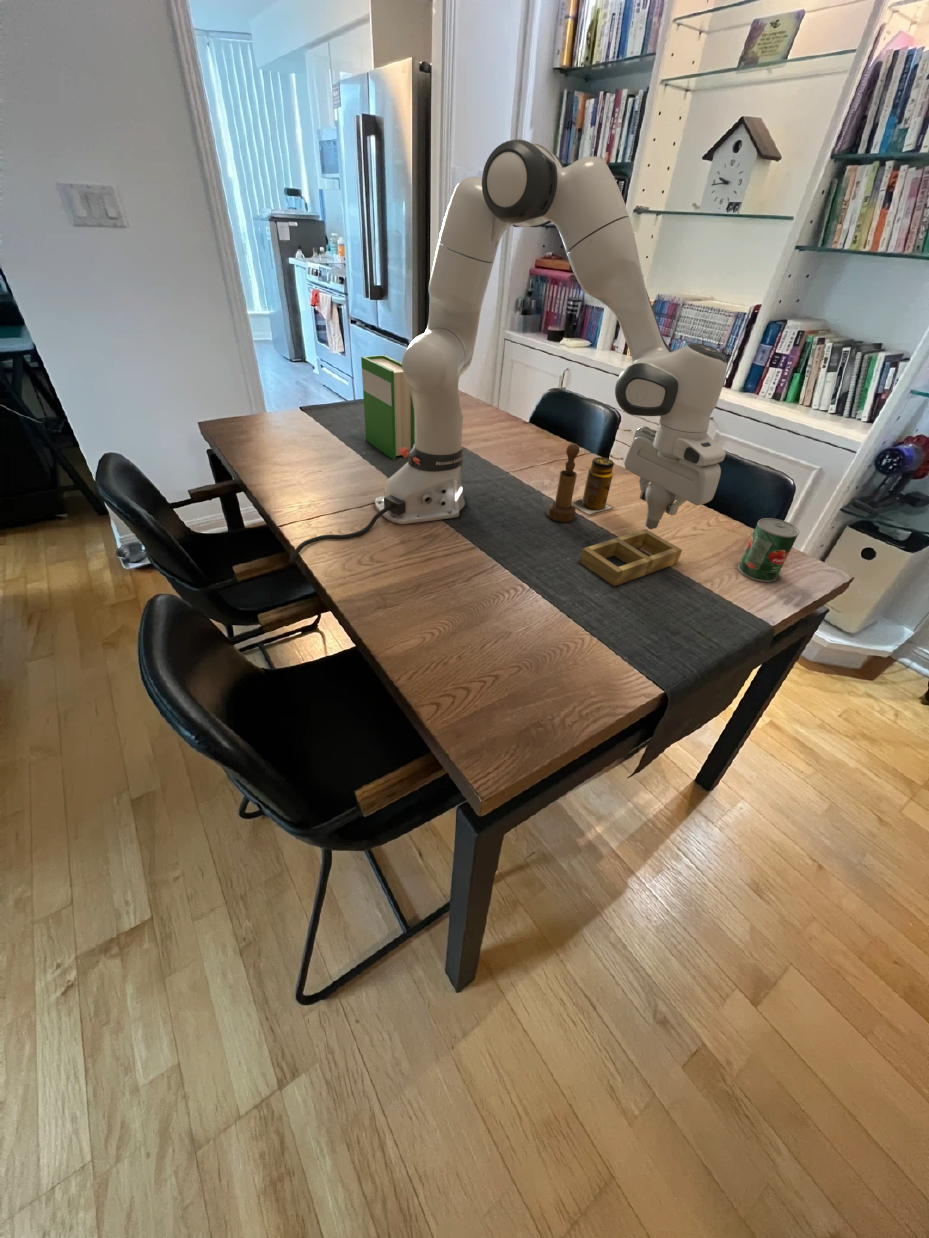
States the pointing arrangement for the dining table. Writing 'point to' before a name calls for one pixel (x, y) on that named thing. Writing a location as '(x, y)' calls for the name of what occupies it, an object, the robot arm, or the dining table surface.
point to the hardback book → (387, 405)
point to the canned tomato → (768, 549)
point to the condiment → (596, 487)
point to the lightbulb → (657, 503)
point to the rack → (630, 556)
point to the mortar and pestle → (565, 489)
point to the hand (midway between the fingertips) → (657, 506)
